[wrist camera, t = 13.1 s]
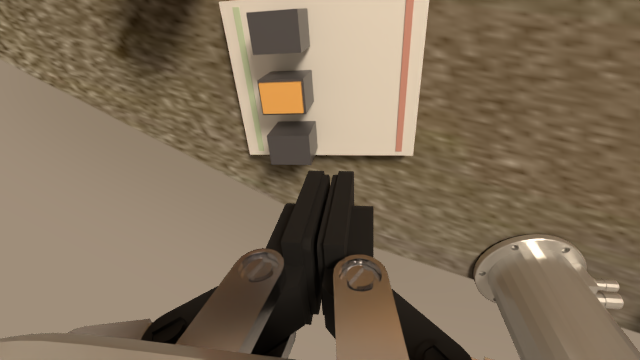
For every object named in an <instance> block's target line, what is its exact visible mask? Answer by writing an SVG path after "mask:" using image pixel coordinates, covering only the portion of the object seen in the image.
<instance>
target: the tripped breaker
mask: <svg viewBox="0 0 640 360" xmlns="http://www.w3.org/2000/svg"><path fill="white" fill-rule="evenodd" d="M257 83H258V89H259V95H260V101H261V107H262V113H263V115H294V114H307V113H308V111H309V109H310V107H311V106H312V104H313V102H314V95H313V82H312V70H294V71H271V72H269V73H268V74H266V75H265V76H263V77H262V78H260V79H259V80H257Z"/></svg>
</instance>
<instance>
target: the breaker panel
mask: <svg viewBox="0 0 640 360" xmlns="http://www.w3.org/2000/svg"><path fill="white" fill-rule="evenodd" d="M219 5H220V10H221V15H222V20H223V25H224V30H225V34H226V39H227V44H228V49H229V54H230V59H231V64H232V69H233V74H234V78H235V83H236V88H237V93H238V98H239V103H240V108H241V113H242V117H243V122H244V127H245V132H246V137H247V142H248V147H249V152H250V155H270V159H271V165H312V162H313V159H314V157H315V155H413V150H414V140H415V131H416V121H417V111H418V102H419V92H420V83H421V73H422V63H423V54H424V44H425V35H426V25H427V15H428V6H429V0H236V1H225V2H219ZM294 70H312V82H313V95H314V102H313V104H312V106H311V107H310V109H309V111H308V113H307V114H294V115H263V113H262V107H261V101H260V95H259V89H258V83H257V80H259V79H260V78H262V77H263V76H265V75H266V74H268V73H269V72H271V71H294Z"/></svg>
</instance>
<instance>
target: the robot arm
mask: <svg viewBox="0 0 640 360" xmlns="http://www.w3.org/2000/svg"><path fill="white" fill-rule="evenodd" d="M473 277H474V281H475V284H476V286H477V288H478V290H479V292H480V293H481V294H482V295H483V296H484V297H486V298H487V299H488V300H490V301H492V302H494V303H497V305H498V307H499V310H500V312H501V315H502V317H503V319H504V322H505V324H506V326H507V329H508V331H509V333H510V336H511V338H512V340H513V343H514V345H515V348H516V350H517V352H518V355H519V357H520V359H521V360H640V352H639V351H638V350H637V348H636V347H635V346H634V345H633V343H632V342H631V341H630V339H629V338H628V337H627V335H626V334H625V333H624V332H623V330H622V329H621V328H620V326H619V325H618V324H617V323H616V321H615V320H614V319H613V317H612V316H611V315H610V313H609V312H608V311H607V310H606V308H610V309H621V308H622V307H623V300H622V298H621V296H620V295H619V294H618V293H616V292H617V291H618V290H619V284H618V283H617V281H615V280H611V279H594V278H593V277H591V276H590V275H589V274H588V272H587V264H586V261H585V258H584V257H583V255H582V254H581V253H580V251H579V250H578V249H577V248H576V247H575V246H574V245H573V244H571V243H570V242H568V241H566V240H564V239H561V238H559V237H555V236H550V235H541V234H532V235H522V236H518V237H513V238H510V239H507V240H504V241H502V242H500V243H498V244H496V245H494V246H492V247H491V248H490V249H488V250H487V251H485V252H484V253H483V254H482V255H481V256H480V258H479V259H478V261H477V262H476V264H475V267H474V271H473ZM598 290H602V291H598ZM605 291H612V292H605ZM321 299H322V310H323V315H325V325H326V328H327V329H328V331H329V332H330V333H331V334H332V335H333V337H334V338H335V339H336V357H337V360H478V359H475V358H472V357H470V355H469V354H468V353H467V352H466V351H465V350H464V349H463V348H462V347H461V346H460V345H459V344H457V343H456V342H455V341H454V340H453V339H451V338H450V337H449V336H448V335H447V334H445V333H444V332H443V331H442V330H440V329H439V328H438V327H437V326H436V325H435V324H433V323H432V322H431V321H430V320H429V319H427V318H426V317H425V316H424V315H423V314H421V313H420V312H419V311H418V310H417V309H415V308H414V307H413V306H412V305H411V304H409V303H408V302H407V301H406V300H405V299H403V298H402V297H401V296H400V295H399V294H397V293H396V292H395V291H394V290H393V289H391V285H390V281H389V277H388V273H387V271H386V268H385V266H384V265H383V264H382V263H381V262H380V261H378V260H377V259H375V258H373V206H354V172H352V171H339V173H338V175H333V177H332V182H331V186H330V177H329V175H324V171H309V172H308V174H307V177H306V179H305V182H304V184H303V187H302V189H301V192H300V194H299V197H298V199H297V202H296V204H292V203H287V204H286V205H285V207H284V209H283V211H282V213H281V215H280V218H279V220H278V222H277V224H276V227H275V229H274V231H273V233H272V235H271V238H270V240H269V242H268V244H267V247H266V249H264V248H262V249H256V250H253V251H250V252H248V253H246V254H245V255H243V256H242V257H241V258H240V259H239V260H238V261H237V262H236V263H235V264H234V266H233V267H232V268H231V270H230V272H229V273H228V274H227V275H226V277H225V278H224V279H223V281H222V282H221V283H220V285H219V286H217V287H216V288H214V289H211V290H210V291H208V292H206V293H204V294H202V295H200V296H198V297H196V298H194V299H192V300H191V301H189V302H187V303H185V304H183V305H181V306H179V307H177V308H175V309H173V310H172V311H170V312H168V313H166V314H164V315H163V316H161V317H160V318H158V319H157V320H156V321H155V322H151V320H150V319H144V320H136V321H126V322H118V323H110V324H101V325H92V326H84V327H80V328H77V329H74V330H72V331H70V332H68V333H45V334H44V333H42V334H29V335H21V336H14V337H7V338H2V339H0V360H294V359H288V356H289V354H290V352H291V349H292V347H293V344H294V341H295V337H296V331H297V330H298V329H300V328H301V327H303V326H304V325H305V324H309V325H311V321H312V317H313V314H319V310H320V305H321ZM484 360H493V359H490V358H486V357H484Z"/></svg>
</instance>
